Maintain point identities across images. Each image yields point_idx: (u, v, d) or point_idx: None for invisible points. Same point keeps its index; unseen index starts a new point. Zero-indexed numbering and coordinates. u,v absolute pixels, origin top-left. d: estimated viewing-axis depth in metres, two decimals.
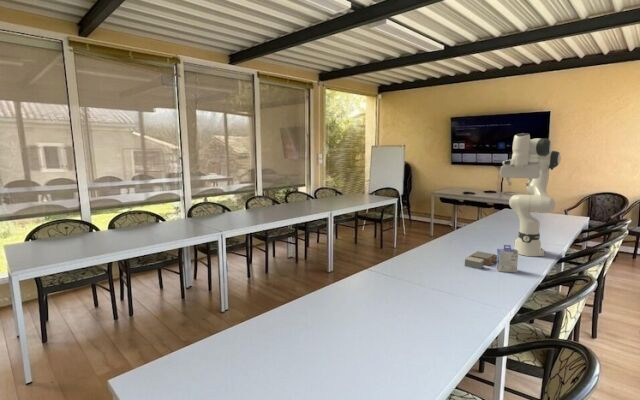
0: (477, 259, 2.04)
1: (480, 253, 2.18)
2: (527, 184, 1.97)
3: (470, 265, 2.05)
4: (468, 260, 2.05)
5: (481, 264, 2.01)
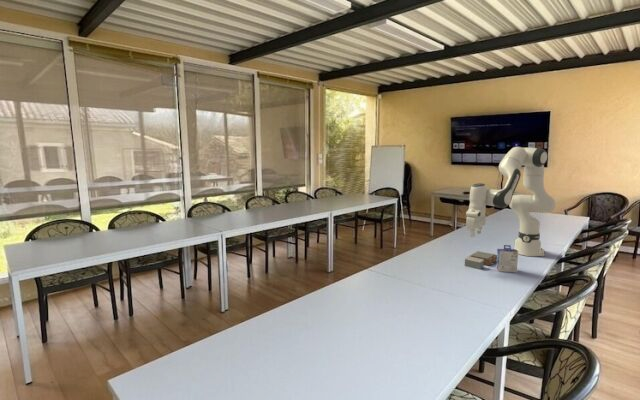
0: (477, 259, 2.04)
1: (480, 253, 2.18)
2: (480, 232, 2.05)
3: (470, 265, 2.05)
4: (468, 260, 2.05)
5: (481, 264, 2.01)
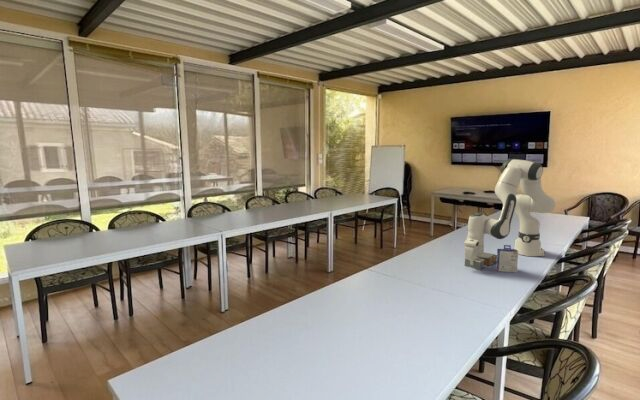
0: (477, 259, 2.04)
1: None
2: None
3: (469, 265, 2.05)
4: (468, 260, 2.05)
5: (481, 264, 2.01)
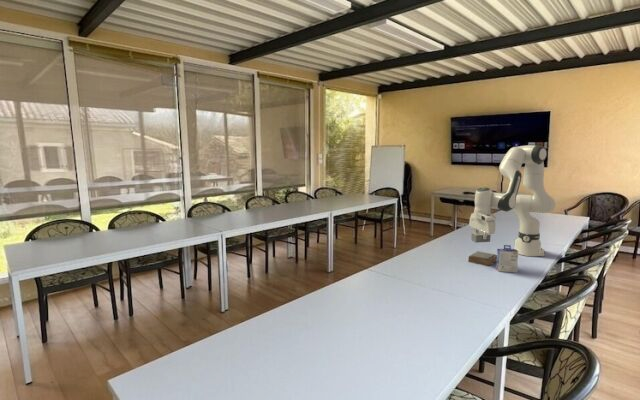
0: (483, 232, 2.09)
1: (480, 253, 2.18)
2: None
3: (481, 240, 2.07)
4: (479, 235, 2.06)
5: None
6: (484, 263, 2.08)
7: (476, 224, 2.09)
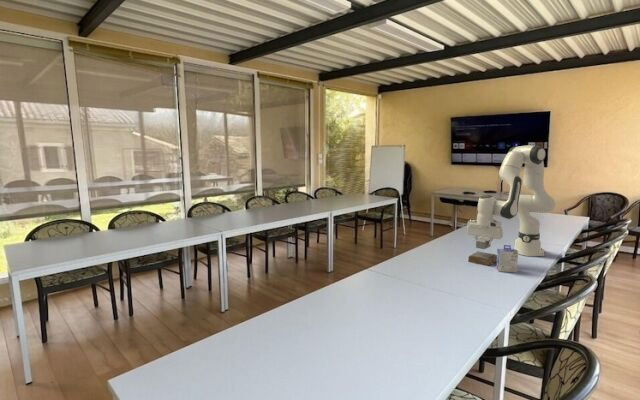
0: (484, 238, 2.15)
1: (480, 253, 2.18)
2: None
3: (486, 246, 2.11)
4: (486, 242, 2.10)
5: None
6: (484, 263, 2.08)
7: (479, 231, 2.13)
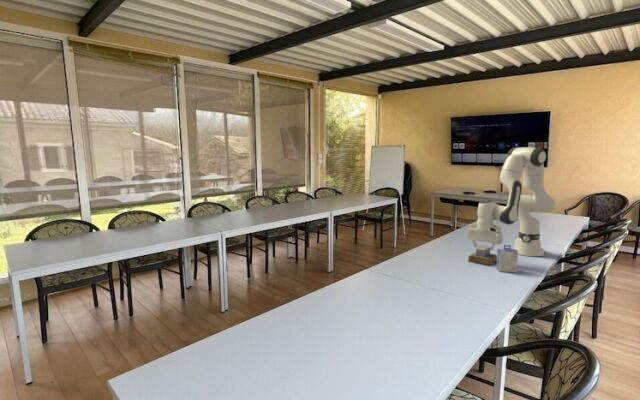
0: (484, 246, 2.16)
1: None
2: None
3: (486, 254, 2.12)
4: (486, 250, 2.11)
5: None
6: (484, 263, 2.08)
7: (479, 235, 2.13)
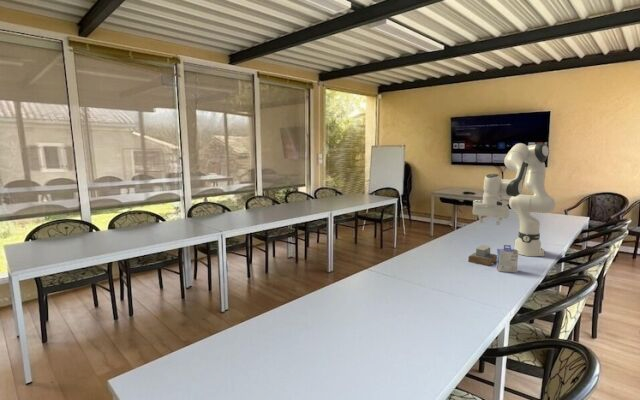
0: (484, 246, 2.16)
1: None
2: None
3: (486, 254, 2.12)
4: (486, 250, 2.11)
5: None
6: (484, 263, 2.08)
7: (485, 210, 2.10)
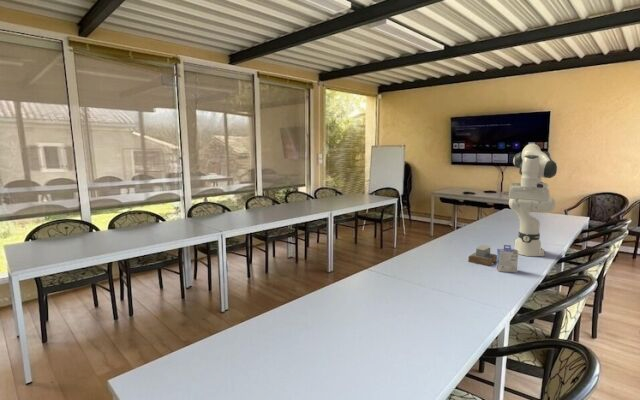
0: (484, 246, 2.16)
1: None
2: None
3: (486, 254, 2.12)
4: (486, 250, 2.11)
5: None
6: (484, 263, 2.08)
7: (524, 193, 1.99)
